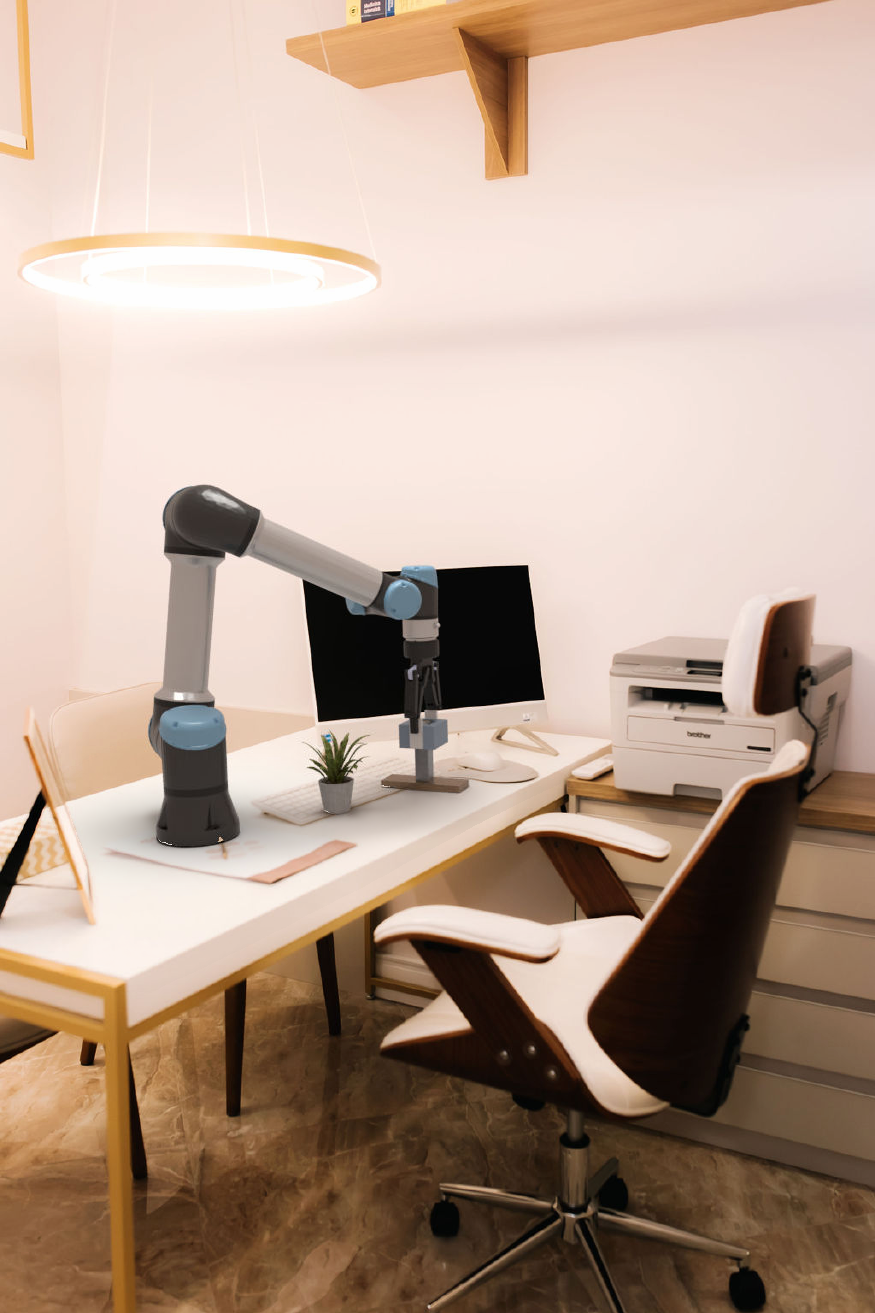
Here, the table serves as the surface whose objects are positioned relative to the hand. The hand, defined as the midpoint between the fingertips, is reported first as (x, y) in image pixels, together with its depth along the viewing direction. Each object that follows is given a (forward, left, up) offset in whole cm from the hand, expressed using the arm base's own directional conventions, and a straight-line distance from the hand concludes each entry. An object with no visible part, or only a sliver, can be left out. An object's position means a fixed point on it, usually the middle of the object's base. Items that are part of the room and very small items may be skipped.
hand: (424, 743), depth 224 cm
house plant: (-19, +14, -10) cm, 26 cm away
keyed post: (0, 0, -9) cm, 9 cm away
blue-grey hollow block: (0, 0, 0) cm, 0 cm away
